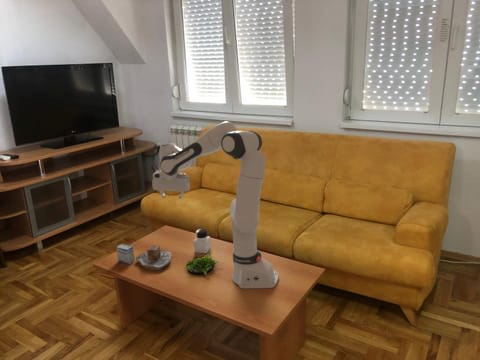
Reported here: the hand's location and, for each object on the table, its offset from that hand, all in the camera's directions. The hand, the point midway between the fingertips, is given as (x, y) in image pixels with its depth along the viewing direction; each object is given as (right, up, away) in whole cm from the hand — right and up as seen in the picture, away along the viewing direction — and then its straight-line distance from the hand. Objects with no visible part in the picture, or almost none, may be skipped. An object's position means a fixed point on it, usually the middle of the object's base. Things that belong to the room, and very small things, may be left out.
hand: (172, 198), depth 222 cm
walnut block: (-9, -31, -3) cm, 33 cm away
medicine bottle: (+15, -29, +9) cm, 34 cm away
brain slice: (-9, -34, -1) cm, 35 cm away
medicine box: (-25, -34, +1) cm, 42 cm away
